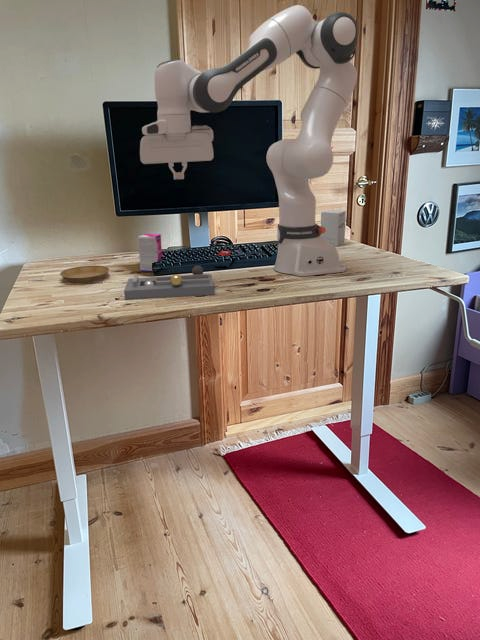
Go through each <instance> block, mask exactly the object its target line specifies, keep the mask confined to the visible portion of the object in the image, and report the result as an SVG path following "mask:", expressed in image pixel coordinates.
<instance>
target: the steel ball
mask: <svg viewBox="0 0 480 640" xmlns="http://www.w3.org/2000/svg"><path fill="white" fill-rule="evenodd" d="M149 285H155V284H154V283H153V282H152V281H146V282H145V283H144V285H143V286H149Z"/></svg>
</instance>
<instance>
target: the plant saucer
mask: <svg viewBox="0 0 480 640" xmlns="http://www.w3.org/2000/svg"><path fill="white" fill-rule="evenodd" d="M109 272H110V268H109V267H107V266H106V265H105V266H104V265H99V264H98V265H96V264H94V265H93V264H92V265H82V266H81V265H79V266H75V267H70V268H66V269H65V270H62V271H60V272H59V276H60V277H62V278H63V279H64V280H65V281H67V282H68V283H71V284H79V285H80V284H91V283H95V282H98V281H101V280H103V279H104V278H105V277H106V276H107V274H108V273H109Z"/></svg>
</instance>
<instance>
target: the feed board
mask: <svg viewBox="0 0 480 640" xmlns="http://www.w3.org/2000/svg"><path fill="white" fill-rule="evenodd" d="M178 275H179V276H181V278H182V284H181V285H180V286H173V285H172V284H171V281H170V280H171V277H172V276H173V275H163V276H153V277H152V276H151V277H150V276H149V277H139V275H134V276H133V278H128V279H127V282H126V284H125V288H124V290H123V294H124V301H126V300H140V299H141V300H145V299H146V300H147V299H161V298H162V299H165V298H178V297H179V298H181V297H197V296H214V295H215V285H214V284H215V283H214V280H213V276H212V274H211V273H203V274H198V275H193V274H185V275H180V274H178ZM146 281H152V282H153V283H154V284H155V285H149V286H143V285H144V283H145V282H146Z"/></svg>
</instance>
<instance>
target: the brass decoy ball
mask: <svg viewBox="0 0 480 640" xmlns="http://www.w3.org/2000/svg"><path fill="white" fill-rule="evenodd" d="M179 275H180V274H173V275H171V276H172V277H171V280H170V281H171V284H172V285H173V286H180V285H181V284H182V278H181V276H179Z"/></svg>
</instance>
